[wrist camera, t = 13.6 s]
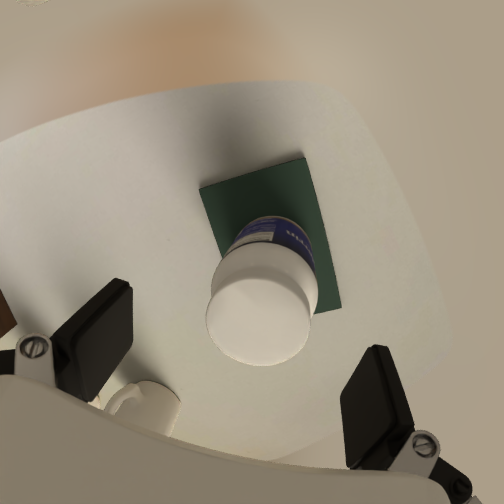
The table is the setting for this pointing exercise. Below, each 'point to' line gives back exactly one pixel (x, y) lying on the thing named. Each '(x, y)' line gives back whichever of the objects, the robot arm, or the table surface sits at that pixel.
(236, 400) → the table surface
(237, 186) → the mat
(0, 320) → the holder
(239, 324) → the pill bottle
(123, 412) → the mug
